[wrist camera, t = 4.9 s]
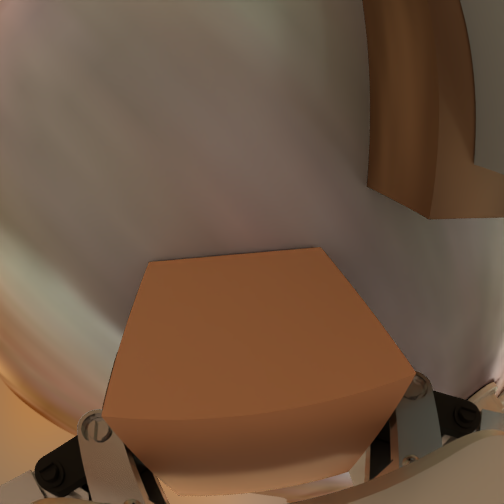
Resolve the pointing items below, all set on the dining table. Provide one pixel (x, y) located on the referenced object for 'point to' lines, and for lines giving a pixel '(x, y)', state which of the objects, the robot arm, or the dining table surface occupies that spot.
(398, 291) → the dining table surface
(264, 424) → the orange cube
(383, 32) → the base block
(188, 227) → the dining table surface
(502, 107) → the grey square block
